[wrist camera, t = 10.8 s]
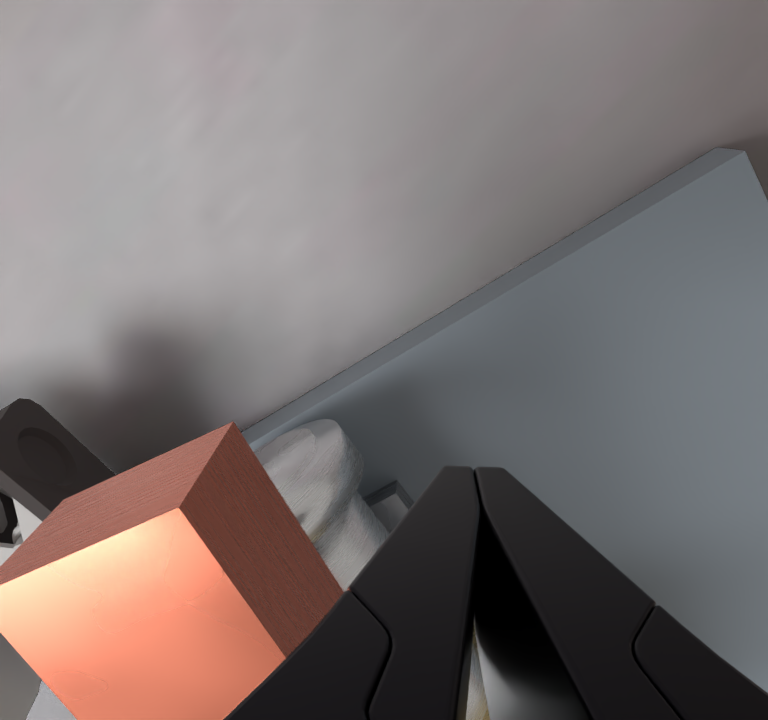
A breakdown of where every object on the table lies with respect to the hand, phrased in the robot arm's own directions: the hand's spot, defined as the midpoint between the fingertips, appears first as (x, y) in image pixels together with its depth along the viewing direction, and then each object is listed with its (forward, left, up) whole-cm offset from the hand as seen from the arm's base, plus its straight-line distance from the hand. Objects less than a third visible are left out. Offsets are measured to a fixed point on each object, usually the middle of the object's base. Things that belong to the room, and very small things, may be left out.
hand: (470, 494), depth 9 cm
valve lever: (-5, +5, 0) cm, 7 cm away
